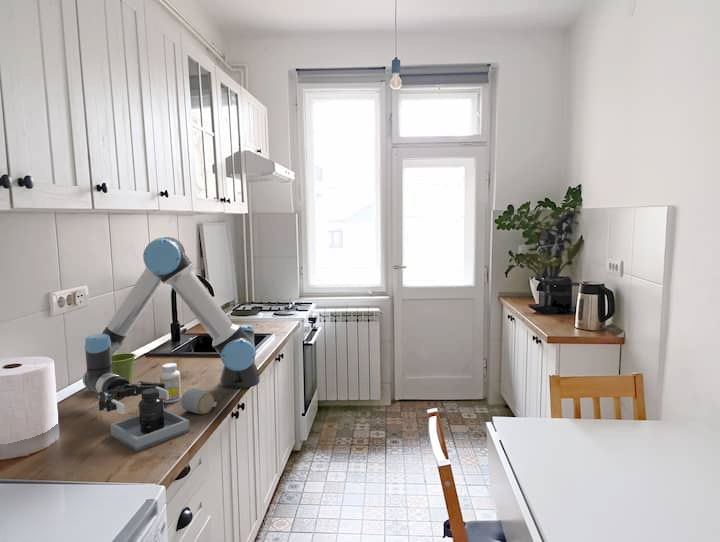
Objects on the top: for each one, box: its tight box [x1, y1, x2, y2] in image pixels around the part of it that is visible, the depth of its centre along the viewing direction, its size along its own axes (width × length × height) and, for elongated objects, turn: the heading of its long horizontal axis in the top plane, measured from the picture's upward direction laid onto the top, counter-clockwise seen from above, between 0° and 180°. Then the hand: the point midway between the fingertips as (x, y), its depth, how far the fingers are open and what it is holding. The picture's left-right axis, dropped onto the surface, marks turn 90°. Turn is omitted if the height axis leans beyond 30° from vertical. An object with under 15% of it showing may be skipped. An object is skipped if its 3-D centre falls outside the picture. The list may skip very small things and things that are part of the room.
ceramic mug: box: [180, 387, 218, 415], centre depth 157 cm, size 11×8×8 cm
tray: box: [109, 408, 191, 452], centre depth 140 cm, size 16×16×4 cm
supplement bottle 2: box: [159, 362, 182, 404], centre depth 166 cm, size 7×7×13 cm
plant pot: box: [111, 352, 137, 384], centre depth 182 cm, size 12×12×11 cm
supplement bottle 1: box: [138, 388, 165, 434], centre depth 140 cm, size 7×7×12 cm
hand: (146, 402), depth 140 cm, fingers open, 13 cm apart
